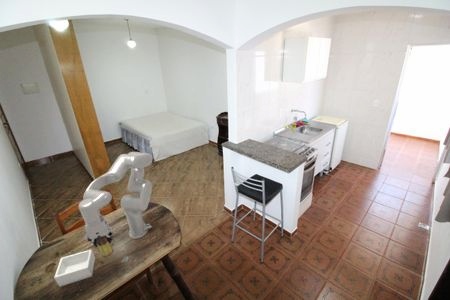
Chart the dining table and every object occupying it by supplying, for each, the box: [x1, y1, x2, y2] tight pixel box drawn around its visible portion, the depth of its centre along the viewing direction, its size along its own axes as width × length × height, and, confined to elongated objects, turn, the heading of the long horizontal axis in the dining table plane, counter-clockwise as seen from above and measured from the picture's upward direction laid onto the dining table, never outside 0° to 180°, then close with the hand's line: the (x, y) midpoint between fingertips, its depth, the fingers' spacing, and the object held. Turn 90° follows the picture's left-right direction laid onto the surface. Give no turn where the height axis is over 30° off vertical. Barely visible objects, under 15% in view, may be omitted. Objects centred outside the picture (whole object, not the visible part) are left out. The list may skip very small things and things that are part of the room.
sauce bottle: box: [96, 232, 114, 258], centre depth 122 cm, size 7×6×20 cm
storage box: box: [53, 249, 96, 288], centre depth 126 cm, size 16×13×8 cm
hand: (103, 242), depth 123 cm, fingers closed on sauce bottle, 6 cm apart
